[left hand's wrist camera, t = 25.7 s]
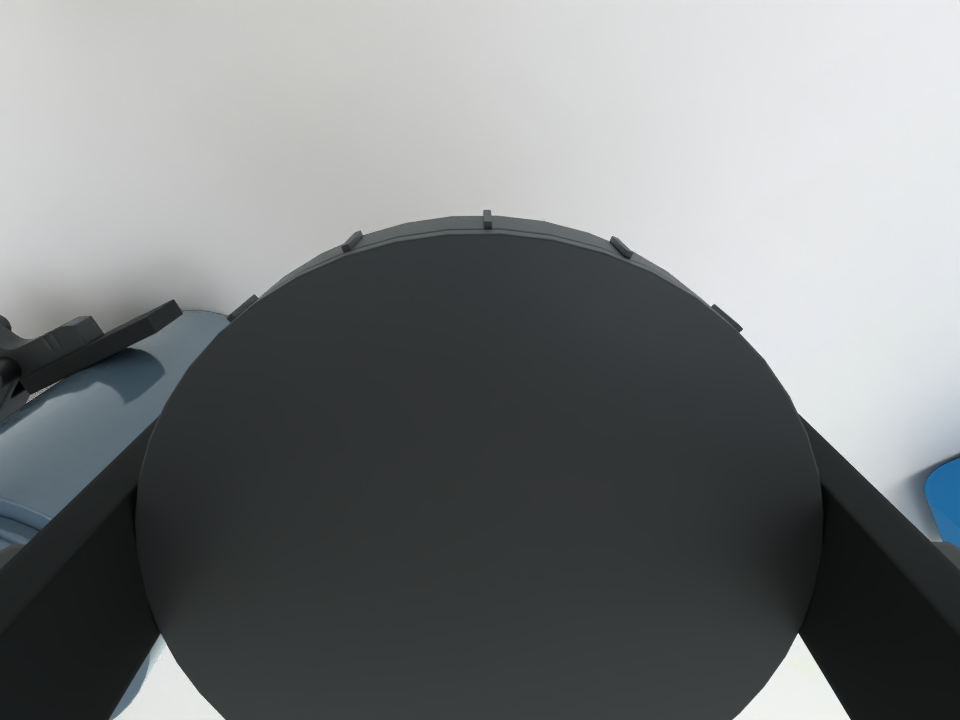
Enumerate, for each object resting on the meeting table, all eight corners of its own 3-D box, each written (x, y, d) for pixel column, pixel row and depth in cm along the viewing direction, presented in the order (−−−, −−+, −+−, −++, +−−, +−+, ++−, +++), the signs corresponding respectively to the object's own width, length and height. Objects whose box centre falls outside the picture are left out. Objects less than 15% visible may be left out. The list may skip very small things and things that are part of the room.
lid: (551, 810, 15) (560, 891, 13) (79, 589, 13) (25, 655, 11) (913, 439, 12) (979, 488, 10) (364, 65, 10) (343, 58, 8)
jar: (192, 272, 35) (-110, 449, 17) (332, 398, 38) (196, 669, 20) (80, 391, 38) (-286, 656, 20) (220, 503, 40) (7, 828, 22)
